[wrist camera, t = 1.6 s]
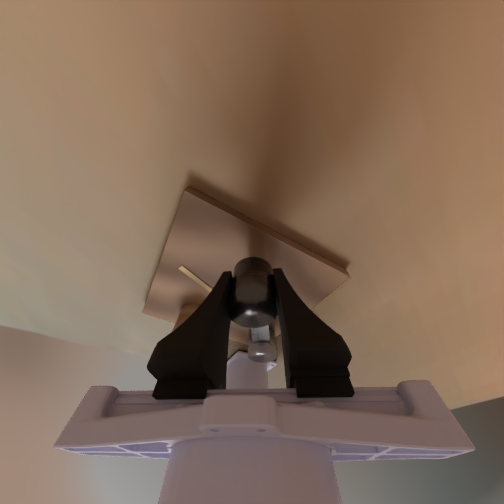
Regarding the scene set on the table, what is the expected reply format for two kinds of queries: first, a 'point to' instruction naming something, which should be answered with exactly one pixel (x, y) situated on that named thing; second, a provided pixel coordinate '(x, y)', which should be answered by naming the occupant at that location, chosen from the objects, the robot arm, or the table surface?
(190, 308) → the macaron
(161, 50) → the table surface
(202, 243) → the board
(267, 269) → the lever
